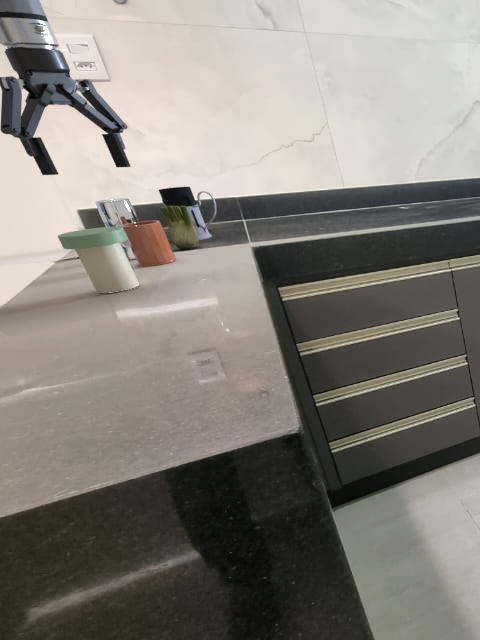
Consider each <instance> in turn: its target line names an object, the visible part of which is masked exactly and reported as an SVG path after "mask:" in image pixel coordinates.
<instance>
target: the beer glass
mask: <svg viewBox="0 0 480 640" xmlns="http://www.w3.org/2000/svg"><path fill="white" fill-rule="evenodd" d="M94 202H95V205H96V208H97V210H98V213H99V216H100V218H101V220H102V222H103V224H104V227H121V226H122V225H125V224H130V223H136V222H140V218H139V217H138V214H137V212H136V210H135V208H134V206H133V205H132V202H131V200H130V199H129V198H126V197H125V198H110V199H109V198H108V199H103V200H97V201H94ZM120 244H121V246H122V248H123V250H124V253H125V255H126V257H127V259H128V261H131V260H136V258H135V255H134V253H133V251H132V249H131V247H130V245H129V243H128V240H126V241H123V242H120Z"/></svg>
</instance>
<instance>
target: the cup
mask: <svg viewBox="0 0 480 640" xmlns="http://www.w3.org/2000/svg"><path fill="white" fill-rule="evenodd" d="M121 227H123V229H124V232H125V234H126V236H127V238H128V243H129V245H130V247H131V249H132V251H133V253H134V255H135V258H136V259H135V260H136V262H137V264H138V265H139V266H140V267H155V266H161V265H166V264H170V263H173V262H176V261H177V259H176V256H175V253H174V251H173V248H172V246H171V243H170V241H169V239H168V237H167V234H166V232H165V230H164V227H163V225H162V223H161V221H160V220H144V221H143V220H142V221H139V222H136V223H130V224H125V225H122V226H121Z"/></svg>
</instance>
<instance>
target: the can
mask: <svg viewBox="0 0 480 640" xmlns="http://www.w3.org/2000/svg"><path fill="white" fill-rule="evenodd" d="M74 250H75V252H76V254H77V256H78V259H79V260H80V262H81V264H82V266H83V268H84V270H85V272H86V274H87V276H88V278H89V279H90V282H91V284H92V286H93V288H94V290H95V292H96V294H98V293H109V292H116V291H121V290H125V289H130V288H134V287H136V286H139V284H140V283H139V280H138V278H137V276H136V274H135V272H134V270H133V268H132V266H131V263H130V260H128V259H127V257H126V255H125V253H124V250H123V248H122V246H121V244H120V243H116V244H111V245H105V246H99V247H92V248H83V249H74ZM139 287H140V286H139ZM134 289H135V288H134Z"/></svg>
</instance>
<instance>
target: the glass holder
mask: <svg viewBox="0 0 480 640" xmlns="http://www.w3.org/2000/svg"><path fill="white" fill-rule="evenodd" d="M158 192H159V195H160V197H161V201H162V204H163V207H166V206H171V208H172V210H173V207H172V206H178V207H179V209H180V211H181V208H180V206H186V208H187V211H188V214H189V217H190V219H191V221H192V223H193V225H194V227H195V230H196V232H197V236H198V241H201V240H207V239H210V238H212V237H213V236H212V234H211V233H210V232H209V230H208V227H209V226H210V225H211V223H212V221H214V219H215V217H216V216H217V203H216V200H215V197H214V196H213V194H212V193H211V192H208V191H206V190H202V191H201V190H200V191H199V192H198V193H197V196H196V199H197V201H198V202H197V201H196V199H195V196H194V194H193V191H192V188H191V187H190V186H177V187H166V188H160V189H158ZM203 193H205V194H207V195H209V197H210V198H211V200H212V203H213V208H214V209H213V215H212V217H211V218H210V219H209V221H208V222H207V223H206V222H205V219H204V218H203V217H204V216H203V214H202V212H201V209H200V207H201V206H202V201H201V194H203ZM173 212H174V210H173ZM174 214H175V212H174ZM181 214H182V212H181ZM175 216H176V214H175ZM182 216H183V215H182ZM176 218H177V217H176ZM177 220H178V219H177Z"/></svg>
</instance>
